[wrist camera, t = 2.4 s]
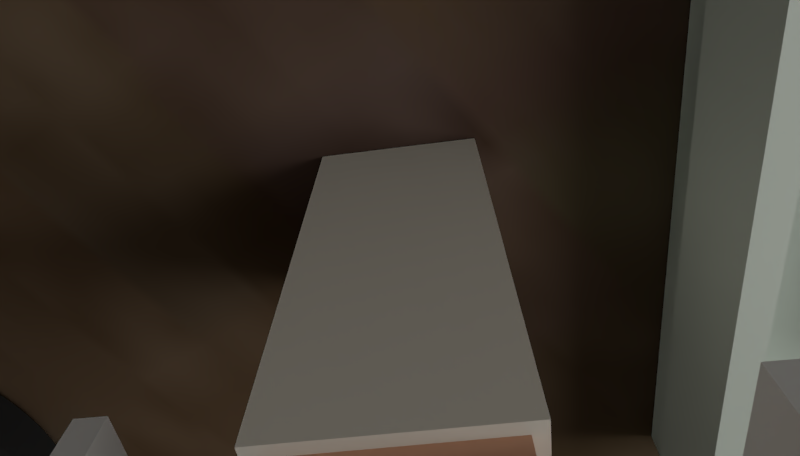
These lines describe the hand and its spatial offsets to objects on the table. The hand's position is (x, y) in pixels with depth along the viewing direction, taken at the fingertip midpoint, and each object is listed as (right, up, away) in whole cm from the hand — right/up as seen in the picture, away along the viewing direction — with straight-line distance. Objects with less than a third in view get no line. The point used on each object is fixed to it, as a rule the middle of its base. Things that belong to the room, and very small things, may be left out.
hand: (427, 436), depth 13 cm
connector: (0, +5, +9) cm, 10 cm away
